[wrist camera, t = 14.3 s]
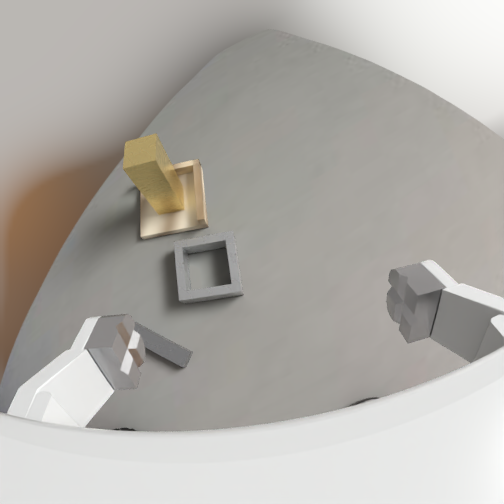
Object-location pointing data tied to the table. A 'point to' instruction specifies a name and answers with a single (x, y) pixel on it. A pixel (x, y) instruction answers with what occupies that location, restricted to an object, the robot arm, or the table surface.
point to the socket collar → (200, 245)
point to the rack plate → (178, 220)
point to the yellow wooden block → (153, 174)
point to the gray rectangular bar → (163, 346)
